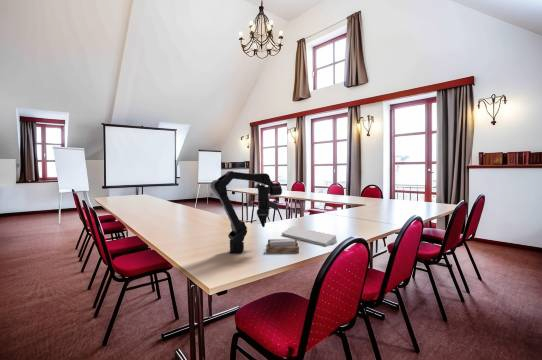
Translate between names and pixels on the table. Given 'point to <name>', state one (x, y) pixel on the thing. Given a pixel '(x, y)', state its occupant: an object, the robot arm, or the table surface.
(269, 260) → the table surface
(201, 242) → the table surface
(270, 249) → the drying rack
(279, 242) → the clay strip
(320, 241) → the decorative molding
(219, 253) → the table surface
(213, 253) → the table surface
